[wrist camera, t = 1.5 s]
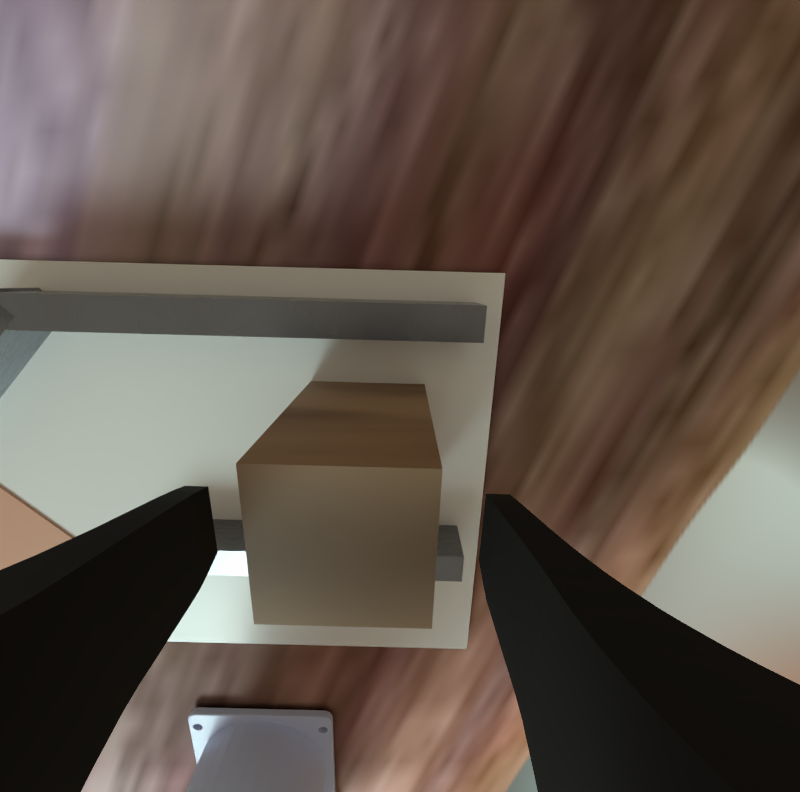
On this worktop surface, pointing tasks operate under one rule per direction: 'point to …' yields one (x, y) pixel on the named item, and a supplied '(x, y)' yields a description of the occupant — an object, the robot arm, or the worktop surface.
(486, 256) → the worktop surface
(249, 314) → the rails
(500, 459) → the worktop surface
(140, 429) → the channel board
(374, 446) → the walnut block
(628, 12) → the worktop surface
